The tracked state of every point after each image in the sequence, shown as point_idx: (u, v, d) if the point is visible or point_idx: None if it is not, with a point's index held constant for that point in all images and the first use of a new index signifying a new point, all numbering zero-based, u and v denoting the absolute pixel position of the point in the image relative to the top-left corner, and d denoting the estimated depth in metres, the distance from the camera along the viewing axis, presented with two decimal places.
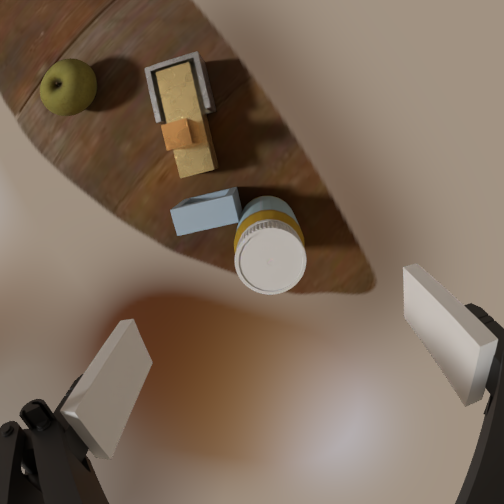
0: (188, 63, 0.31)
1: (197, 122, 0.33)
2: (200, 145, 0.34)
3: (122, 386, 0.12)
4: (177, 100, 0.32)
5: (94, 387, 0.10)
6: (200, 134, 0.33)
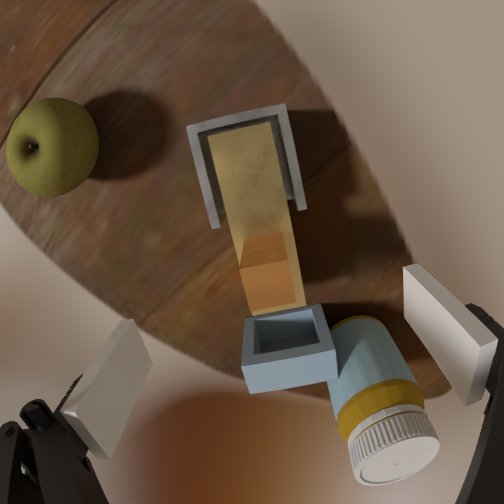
0: (268, 125, 0.19)
1: (284, 234, 0.21)
2: None
3: (122, 386, 0.12)
4: (250, 193, 0.21)
5: (94, 387, 0.10)
6: (288, 253, 0.22)
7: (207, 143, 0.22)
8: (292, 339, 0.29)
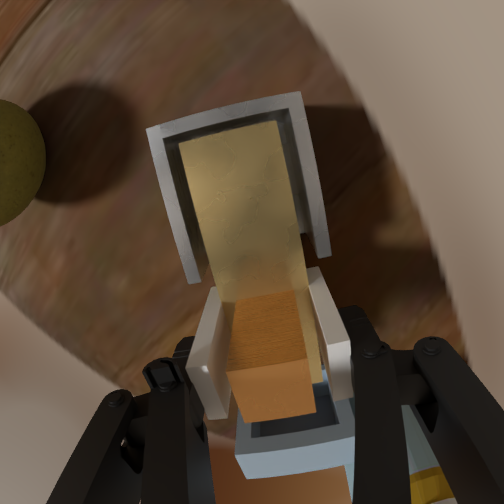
0: (274, 125, 0.12)
1: (296, 292, 0.14)
2: None
3: (226, 346, 0.14)
4: (245, 233, 0.13)
5: None
6: (301, 318, 0.15)
7: None
8: None
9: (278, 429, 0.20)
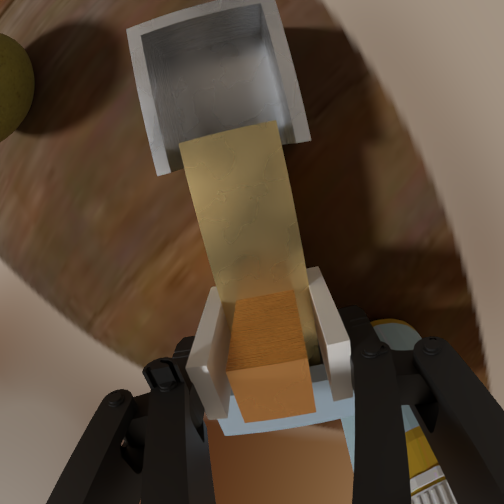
0: (274, 125, 0.12)
1: (296, 292, 0.14)
2: None
3: (226, 346, 0.14)
4: (245, 233, 0.13)
5: None
6: (301, 318, 0.15)
7: (163, 65, 0.14)
8: None
9: None
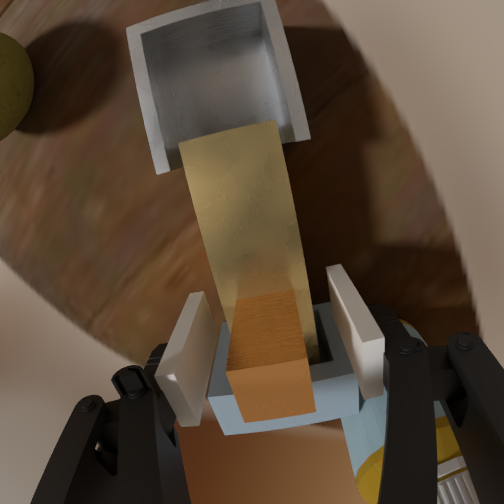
0: (274, 124, 0.12)
1: (296, 291, 0.14)
2: None
3: (202, 353, 0.13)
4: (245, 232, 0.13)
5: (184, 351, 0.12)
6: (301, 318, 0.15)
7: (163, 63, 0.14)
8: None
9: None
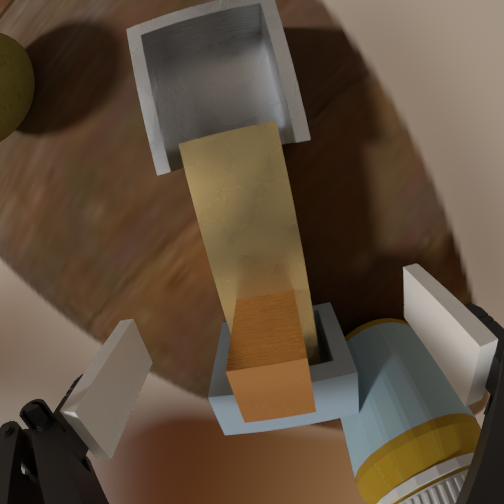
0: (274, 125, 0.12)
1: (296, 292, 0.14)
2: None
3: (122, 386, 0.12)
4: (245, 233, 0.13)
5: (94, 387, 0.10)
6: (301, 318, 0.15)
7: (163, 64, 0.14)
8: None
9: None
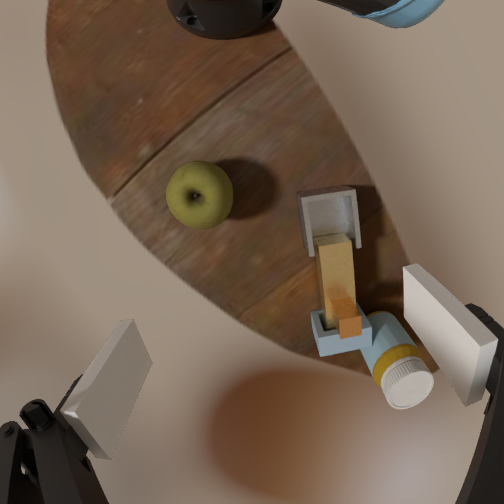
0: (350, 242, 0.37)
1: (351, 297, 0.39)
2: None
3: (122, 386, 0.12)
4: (336, 277, 0.38)
5: (94, 387, 0.10)
6: None
7: None
8: None
9: None
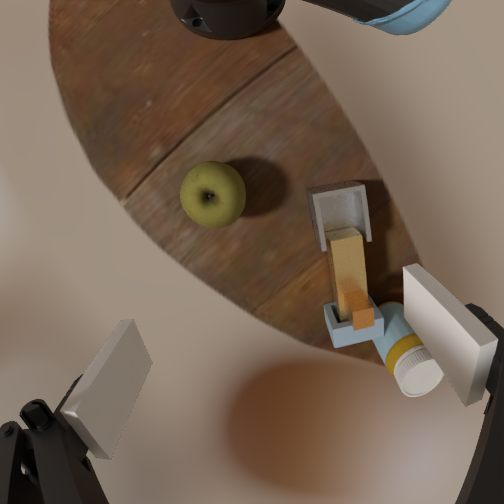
0: (361, 236, 0.38)
1: (362, 289, 0.40)
2: None
3: (122, 386, 0.12)
4: (348, 270, 0.39)
5: (94, 387, 0.10)
6: None
7: None
8: None
9: None
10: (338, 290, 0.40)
